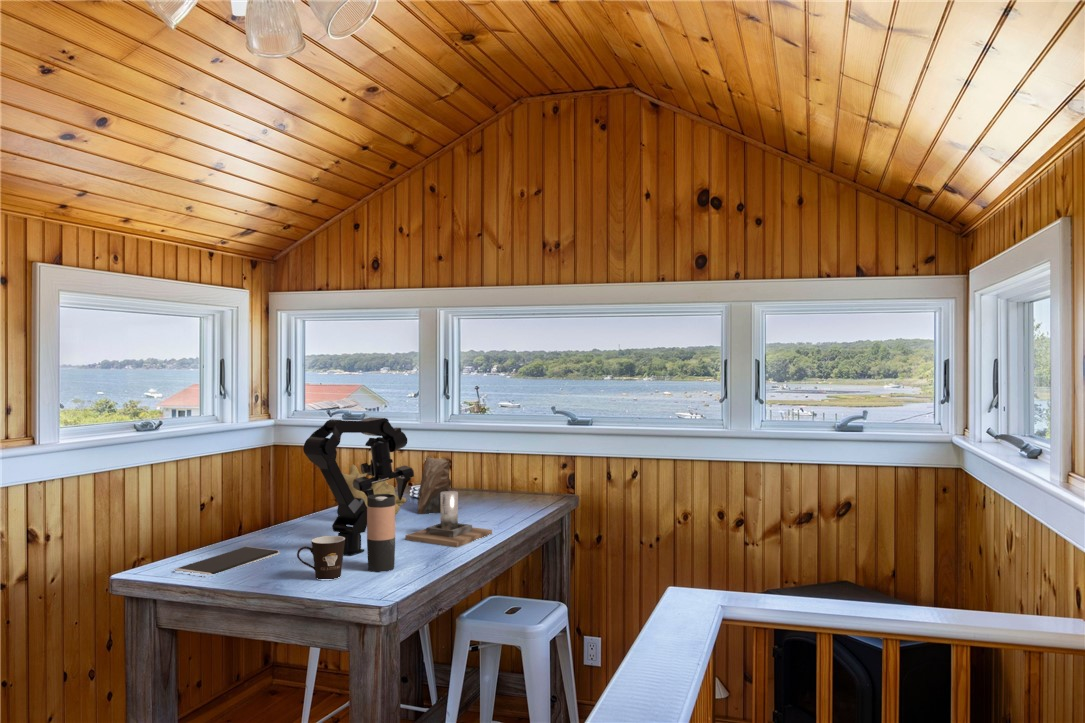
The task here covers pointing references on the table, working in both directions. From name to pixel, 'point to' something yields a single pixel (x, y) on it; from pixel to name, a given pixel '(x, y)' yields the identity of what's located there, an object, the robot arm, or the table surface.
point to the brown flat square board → (448, 535)
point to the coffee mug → (326, 556)
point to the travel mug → (381, 532)
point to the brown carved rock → (433, 485)
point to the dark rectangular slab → (228, 560)
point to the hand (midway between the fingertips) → (387, 503)
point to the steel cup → (449, 510)
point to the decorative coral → (377, 488)
